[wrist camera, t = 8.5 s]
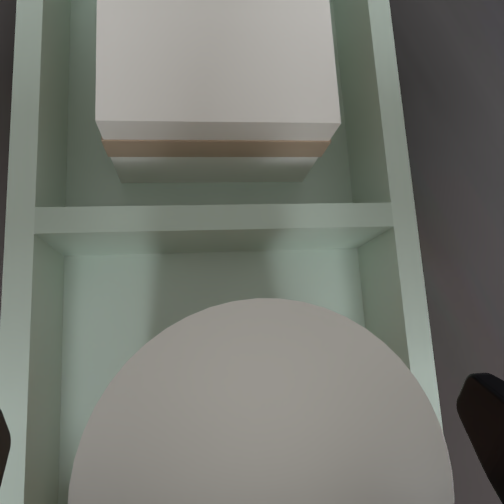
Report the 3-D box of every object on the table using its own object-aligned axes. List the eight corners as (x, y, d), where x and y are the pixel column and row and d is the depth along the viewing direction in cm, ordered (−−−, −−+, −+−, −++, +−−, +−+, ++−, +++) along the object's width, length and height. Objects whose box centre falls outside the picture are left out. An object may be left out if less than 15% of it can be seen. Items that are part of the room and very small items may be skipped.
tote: (404, 573, 17) (469, 641, 13) (34, 620, 15) (-20, 713, 11) (343, -18, 22) (376, -99, 18) (55, -33, 20) (23, -126, 16)
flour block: (303, 182, 19) (343, 124, 14) (119, 184, 18) (93, 122, 13) (291, 24, 20) (323, -79, 15) (120, 18, 19) (96, -94, 14)
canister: (287, 508, 16) (434, 749, 6) (122, 481, 16) (13, 694, 6) (313, 343, 18) (469, 336, 8) (161, 312, 17) (125, 264, 7)
